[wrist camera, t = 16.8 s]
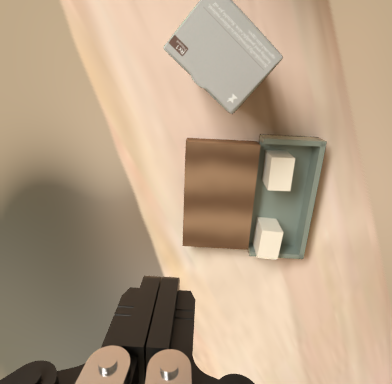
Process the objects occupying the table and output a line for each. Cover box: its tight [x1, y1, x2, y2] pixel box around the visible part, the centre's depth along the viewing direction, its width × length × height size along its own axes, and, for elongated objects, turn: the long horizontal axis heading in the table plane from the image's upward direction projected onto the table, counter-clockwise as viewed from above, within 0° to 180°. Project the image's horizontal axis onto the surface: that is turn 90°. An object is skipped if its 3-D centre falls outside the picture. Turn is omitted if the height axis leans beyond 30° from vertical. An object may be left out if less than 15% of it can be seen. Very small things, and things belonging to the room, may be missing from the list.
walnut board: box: [183, 138, 260, 250], centre depth 43 cm, size 16×10×3 cm, turn 178°
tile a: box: [262, 150, 295, 191], centre depth 40 cm, size 4×4×3 cm
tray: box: [248, 135, 327, 259], centre depth 43 cm, size 18×8×3 cm, turn 178°
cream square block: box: [253, 217, 283, 260], centre depth 44 cm, size 4×4×3 cm
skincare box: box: [163, 0, 283, 114], centre depth 31 cm, size 8×7×16 cm
